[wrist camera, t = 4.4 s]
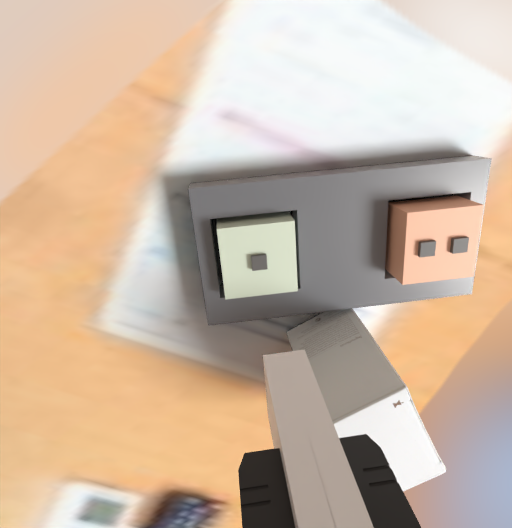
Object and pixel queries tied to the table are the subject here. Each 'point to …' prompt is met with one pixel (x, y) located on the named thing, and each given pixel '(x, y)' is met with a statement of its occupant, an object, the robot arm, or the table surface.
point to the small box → (367, 393)
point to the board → (331, 233)
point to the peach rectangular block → (432, 239)
